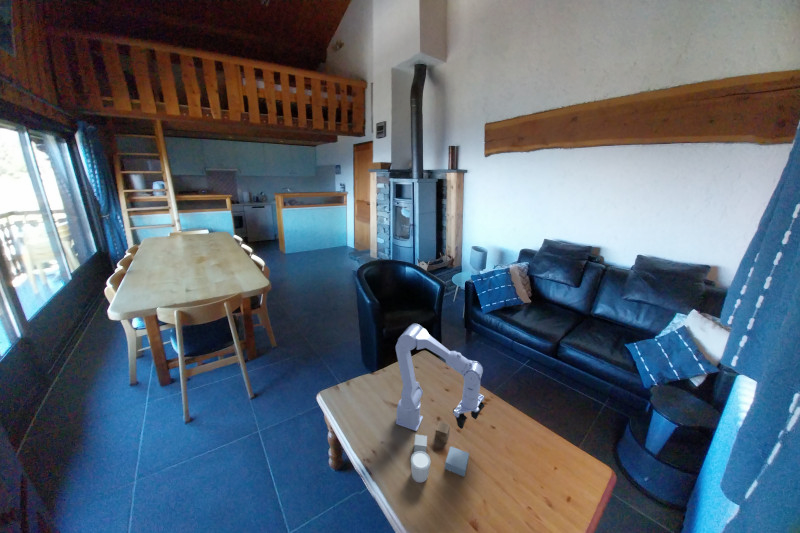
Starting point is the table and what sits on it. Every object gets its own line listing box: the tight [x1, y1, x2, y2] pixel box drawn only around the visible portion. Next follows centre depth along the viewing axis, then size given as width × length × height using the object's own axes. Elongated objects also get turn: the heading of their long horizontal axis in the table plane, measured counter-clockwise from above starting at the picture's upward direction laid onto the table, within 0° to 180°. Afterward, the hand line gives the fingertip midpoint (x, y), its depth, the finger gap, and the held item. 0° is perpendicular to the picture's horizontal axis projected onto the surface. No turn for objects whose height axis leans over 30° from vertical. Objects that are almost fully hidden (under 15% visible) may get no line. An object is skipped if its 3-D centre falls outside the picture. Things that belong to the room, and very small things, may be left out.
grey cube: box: [413, 434, 428, 454], centre depth 113 cm, size 4×4×5 cm
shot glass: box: [410, 451, 431, 483], centre depth 104 cm, size 7×7×7 cm
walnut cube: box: [434, 420, 451, 444], centre depth 119 cm, size 4×4×5 cm
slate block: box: [444, 446, 470, 477], centre depth 108 cm, size 7×7×4 cm
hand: (467, 422), depth 114 cm, fingers open, 7 cm apart
